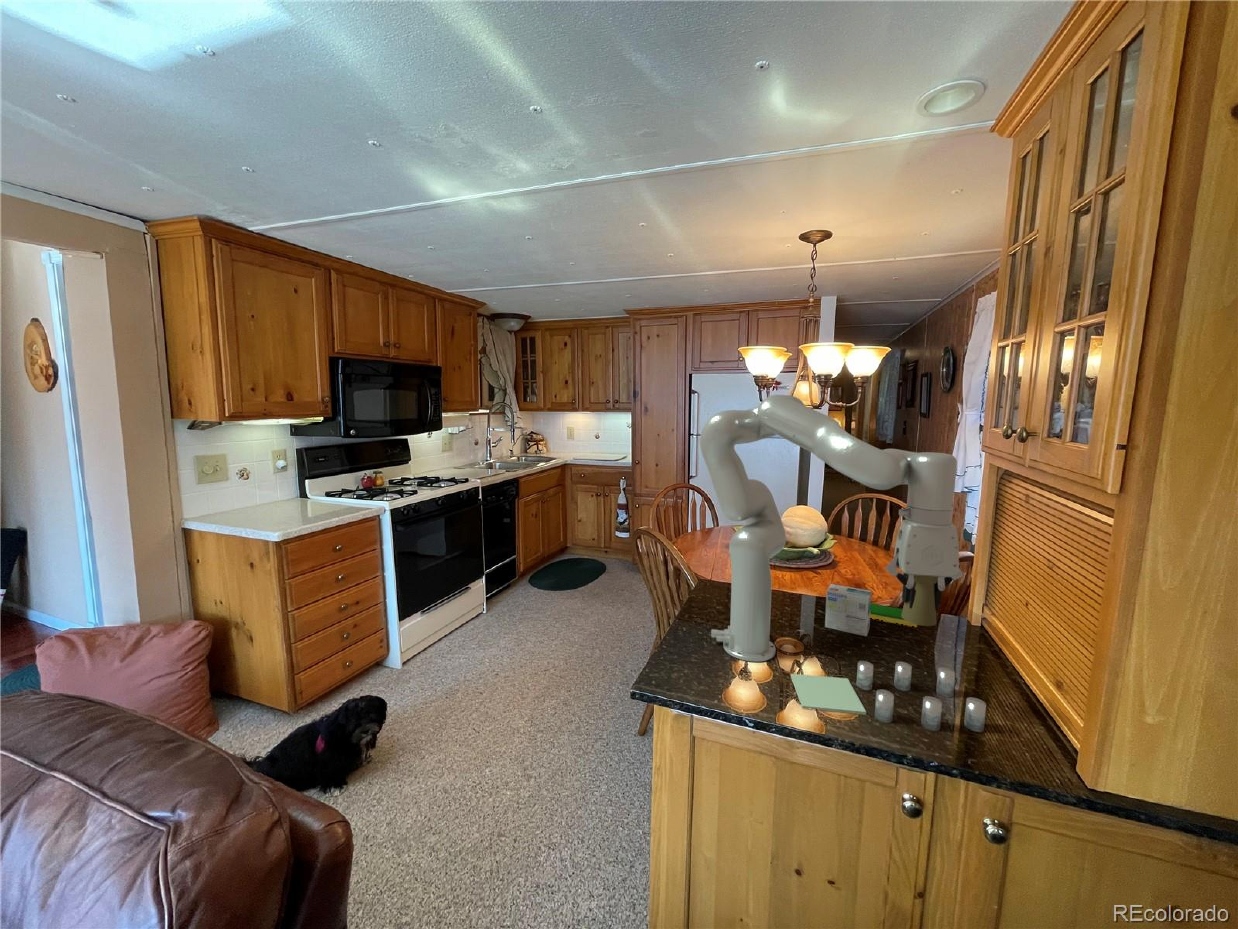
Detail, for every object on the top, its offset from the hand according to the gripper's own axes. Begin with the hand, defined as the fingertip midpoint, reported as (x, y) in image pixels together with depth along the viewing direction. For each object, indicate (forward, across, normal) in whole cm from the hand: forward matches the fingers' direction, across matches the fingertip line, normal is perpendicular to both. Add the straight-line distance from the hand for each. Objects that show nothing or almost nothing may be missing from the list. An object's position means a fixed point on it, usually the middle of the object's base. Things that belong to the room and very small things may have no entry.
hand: (920, 605), depth 96 cm
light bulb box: (+21, -2, +35) cm, 41 cm away
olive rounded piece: (+3, 0, 0) cm, 3 cm away
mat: (+21, -16, +1) cm, 27 cm away
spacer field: (+21, +1, 0) cm, 21 cm away
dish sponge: (+22, +12, +44) cm, 50 cm away
